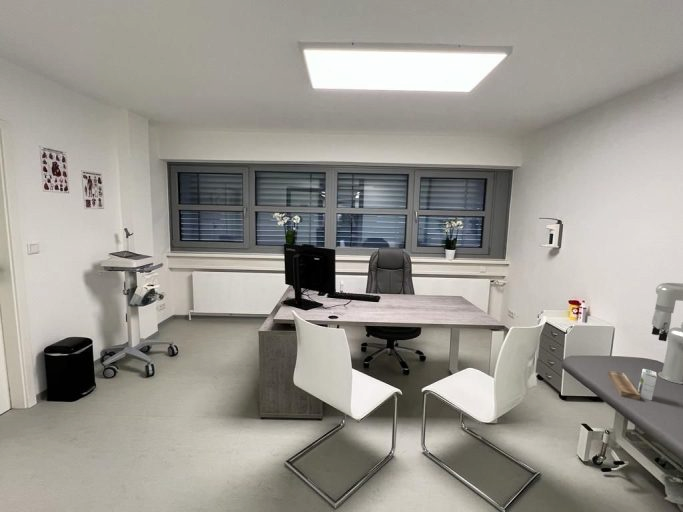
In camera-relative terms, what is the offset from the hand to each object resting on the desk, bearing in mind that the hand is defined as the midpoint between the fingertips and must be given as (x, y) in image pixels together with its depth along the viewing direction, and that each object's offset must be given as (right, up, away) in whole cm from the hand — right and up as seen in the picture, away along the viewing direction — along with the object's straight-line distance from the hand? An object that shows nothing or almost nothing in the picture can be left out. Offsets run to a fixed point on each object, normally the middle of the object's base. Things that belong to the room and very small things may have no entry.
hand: (658, 337), depth 191 cm
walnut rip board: (-21, -28, 0) cm, 35 cm away
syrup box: (-17, -30, -10) cm, 36 cm away
